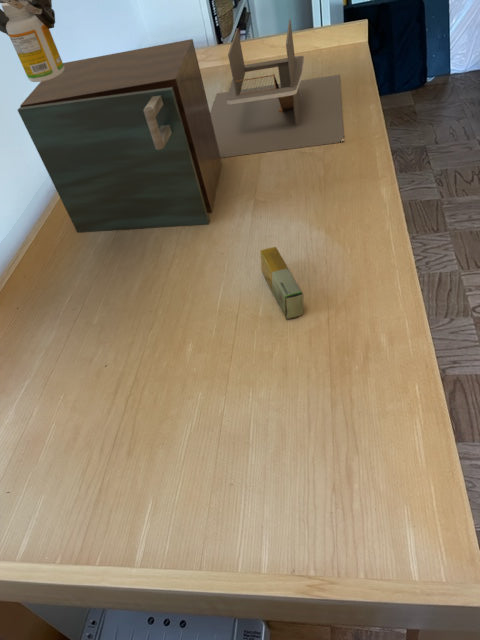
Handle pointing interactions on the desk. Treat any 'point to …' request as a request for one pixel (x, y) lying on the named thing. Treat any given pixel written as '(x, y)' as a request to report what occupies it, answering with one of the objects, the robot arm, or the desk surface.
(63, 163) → the door
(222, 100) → the grey brown stand-shaped piece
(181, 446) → the desk surface
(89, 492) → the desk surface
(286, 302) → the medication box
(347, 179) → the desk surface
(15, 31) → the supplement bottle
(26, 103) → the cupboard
